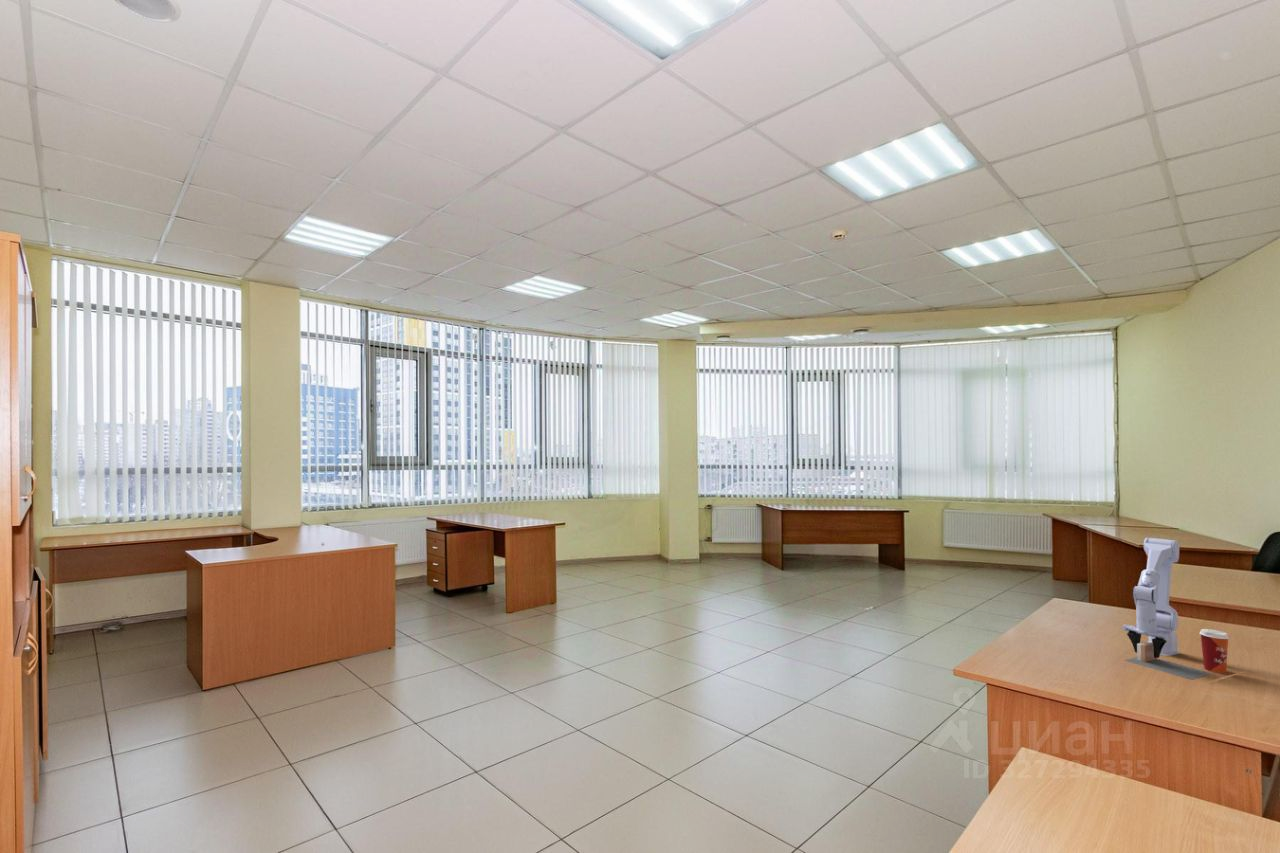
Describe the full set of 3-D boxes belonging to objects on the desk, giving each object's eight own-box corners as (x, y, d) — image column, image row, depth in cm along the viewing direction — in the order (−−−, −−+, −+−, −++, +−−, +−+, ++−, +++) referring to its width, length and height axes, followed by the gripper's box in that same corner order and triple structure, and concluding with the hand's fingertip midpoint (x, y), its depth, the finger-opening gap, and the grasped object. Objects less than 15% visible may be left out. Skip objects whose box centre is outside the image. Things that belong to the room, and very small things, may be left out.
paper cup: (1224, 676, 206) (1223, 636, 207) (1196, 669, 213) (1195, 630, 213) (1234, 673, 210) (1233, 633, 210) (1205, 665, 217) (1204, 627, 217)
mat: (1145, 656, 226) (1145, 655, 226) (1212, 674, 208) (1212, 673, 208) (1124, 661, 221) (1124, 660, 221) (1191, 680, 202) (1191, 679, 202)
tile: (1149, 656, 224) (1148, 641, 224) (1156, 659, 222) (1156, 642, 222) (1137, 659, 221) (1136, 643, 221) (1144, 662, 219) (1144, 645, 219)
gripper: (1118, 614, 227) (1118, 650, 227) (1163, 624, 214) (1164, 662, 213) (1128, 612, 230) (1129, 647, 229) (1174, 622, 217) (1175, 660, 216)
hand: (1147, 654), depth 222 cm, fingers open, 5 cm apart
